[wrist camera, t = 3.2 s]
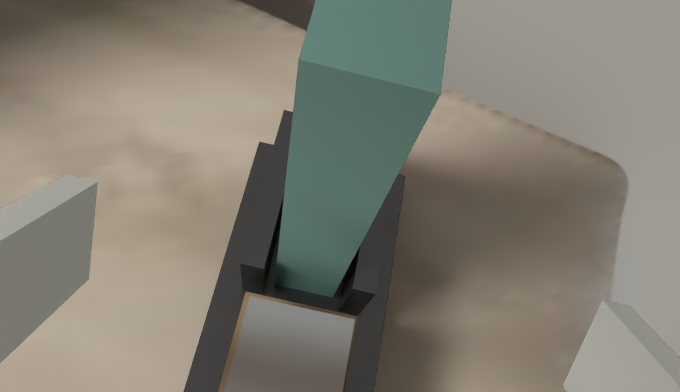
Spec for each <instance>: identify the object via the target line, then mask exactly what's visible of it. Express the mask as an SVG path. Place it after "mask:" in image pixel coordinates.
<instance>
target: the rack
mask: <svg viewBox="0 0 680 392" xmlns="http://www.w3.org/2000/svg"><path fill="white" fill-rule="evenodd" d="M292 117H293V112H290V111H286V110H284V112H283V116H282V119H281V123H280V126H279V130H278V133H277V137H276V140H275V144H274V145H271V144H267V143H263V142H259V145H258V148H257V152H256V155H255V158H254V162H253V165H252V168H251V171H250V175H249V178H248V181H247V185H246V188H245V191H244V195H243V198H242V201H241V204H240V208H239V211H238V214H237V218H236V221H235V224H234V227H233V231H232V234H231V237H230V241H229V244H228V247H227V251H226V254H225V257H224V260H223V264H222V267H221V270H220V274H219V277H218V280H217V284H216V287H215V290H214V293H213V297H212V300H211V303H210V307H209V310H208V313H207V316H206V320H205V323H204V326H203V330H202V333H201V336H200V340H199V343H198V346H197V349H196V353H195V356H194V359H193V363H192V366H191V369H190V373H189V376H188V379H187V382H186V386H185V389H184V392H218V390H219V387H220V383H221V379H222V376H223V372H224V368H225V365H226V361H227V358H228V354H229V350H230V347H231V343H232V339H233V336H234V332H235V328H236V325H237V321H238V317H239V314H240V310H241V307H242V303H243V299H244V296H245V292H250V293H254V294H259V295H263V296H268V297H272V298H277V299H281V300H286V301H290V302H295V303H299V304H304V305H308V306H313V307H317V308H322V309H326V310H331V311H335V312H340V313H344V314H349V315H353V316H358V317H357V323H356V328H355V334H354V340H353V346H352V352H351V358H350V364H349V370H348V375H347V381H346V387H345V392H374V386H375V379H376V372H377V365H378V358H379V351H380V345H381V338H382V331H383V324H384V317H385V310H386V304H387V297H388V290H389V283H390V276H391V269H392V262H393V256H394V249H395V242H396V235H397V228H398V221H399V215H400V208H401V201H402V194H403V187H404V180H405V176H402V175H397V177H396V179H395V181H394V183H393V185H392V186H391V188H390V190H389V192H388V194H387V196H386V198H385V200H384V201H383V203H382V205H381V207H380V209H379V211H378V213H377V215H376V216H375V218H374V220H373V222H372V224H371V226H370V228H369V230H368V232H367V233H366V235H365V237H364V239H363V241H362V243H361V245H360V247H359V248H358V250H357V252H356V254H355V256H354V258H353V260H352V262H351V263H350V265H349V267H348V269H347V271H346V273H345V275H344V277H343V279H342V280H341V282H340V284H339V286H338V288H337V290H336V292H335V294H334V295H333V297H327V296H323V295H318V294H314V293H309V292H305V291H300V290H296V289H291V288H287V287H282V286H278V285H274V283H275V274H276V265H277V255H278V246H279V237H280V228H281V219H282V209H283V200H284V191H285V182H286V173H287V163H288V154H289V145H290V136H291V127H292Z"/></svg>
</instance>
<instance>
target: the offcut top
mask: <svg viewBox="0 0 680 392" xmlns="http://www.w3.org/2000/svg"><path fill="white" fill-rule="evenodd" d="M354 322H355V319H352V318H347V317H343V316H338V315H334V314H329V313H324V312H320V311H315V310H311V309H306V308H302V307H297V306H293V305H288V304H284V303H279V302H275V301H270V300H266V299H261V298H257V297H252V296H250V297H249V300H248V304H247V308H246V311H245V315H244V319H243V322H242V326H241V330H240V334H239V337H238V341H237V345H236V348H235V352H234V356H233V359H232V363H231V367H230V371H229V374H228V378H227V382H226V385H225V389H224V392H343V386H344V381H345V375H346V369H347V363H348V357H349V351H350V346H351V340H352V334H353V328H354Z"/></svg>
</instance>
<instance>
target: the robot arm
mask: <svg viewBox="0 0 680 392" xmlns="http://www.w3.org/2000/svg"><path fill="white" fill-rule="evenodd" d="M97 184H98V182H96V181H92V180H88V179H83V178H79V177H75V176H70V175H65V176H63V177H61V178H59V179H57V180H55V181H53V182H52V183H50V184H48V185H46V186H44V187H42V188H40V189H38V190H36V191H34V192H32V193H30V194H28V195H26V196H24V197H22V198H21V199H19V200H17V201H15V202H13V203H11V204H9V205H7V206H5V207H3V208H1V209H0V363H1V362H2V361H3V360H4V359H5V358H6V357H7V356H8V355H9V354H10V353H11V352H12V351H13V350H15V349H16V348H17V347H18V346H19V345H20V344H21V343H22V342H23V341H24V340H25V339H26V338H27V337H28V336H29V335H30V334H31V333H32V332H34V331H35V330H36V329H37V328H38V327H39V326H40V325H41V324H42V323H43V322H44V321H45V320H46V319H47V318H48V317H49V316H50V315H51V314H52V313H54V312H55V311H56V310H57V309H58V308H59V307H60V306H61V305H62V304H63V303H64V302H65V301H66V300H67V299H68V298H69V297H70V296H71V295H72V294H74V293H75V292H76V291H77V290H78V289H79V288H80V287H81V286H82V285H83V284H84V283H85V282H86V281H87V280H88V279H89V271H90V260H91V249H92V239H93V228H94V217H95V206H96V195H97ZM563 387H564V389H565V391H566V392H680V357H679V356H678V355H677V354H676V353H675V352H674V351H673V350H672V349H671V348H670V347H669V346H668V345H667V344H666V343H665V342H664V341H663V340H662V339H661V338H660V337H659V336H658V335H657V333H656V332H655V331H654V330H652V328H651V327H650V326H649V325H648V324H647V323H646V322H645V321H644V320H643V319H642V318H641V317H640V316H639V315H638V314H637V313H636V312H635V311H634V310H633V309H632V308H631V307H629V306H626V305H621V304H617V303H613V302H608V301H604V300H602V302H601V304H600V306H599V308H598V311H597V313H596V315H595V317H594V319H593V321H592V324H591V326H590V328H589V330H588V332H587V334H586V337H585V339H584V341H583V343H582V345H581V347H580V350H579V352H578V354H577V356H576V358H575V360H574V363H573V365H572V367H571V369H570V371H569V373H568V376H567V378H566V380H565V382H564V384H563Z"/></svg>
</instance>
